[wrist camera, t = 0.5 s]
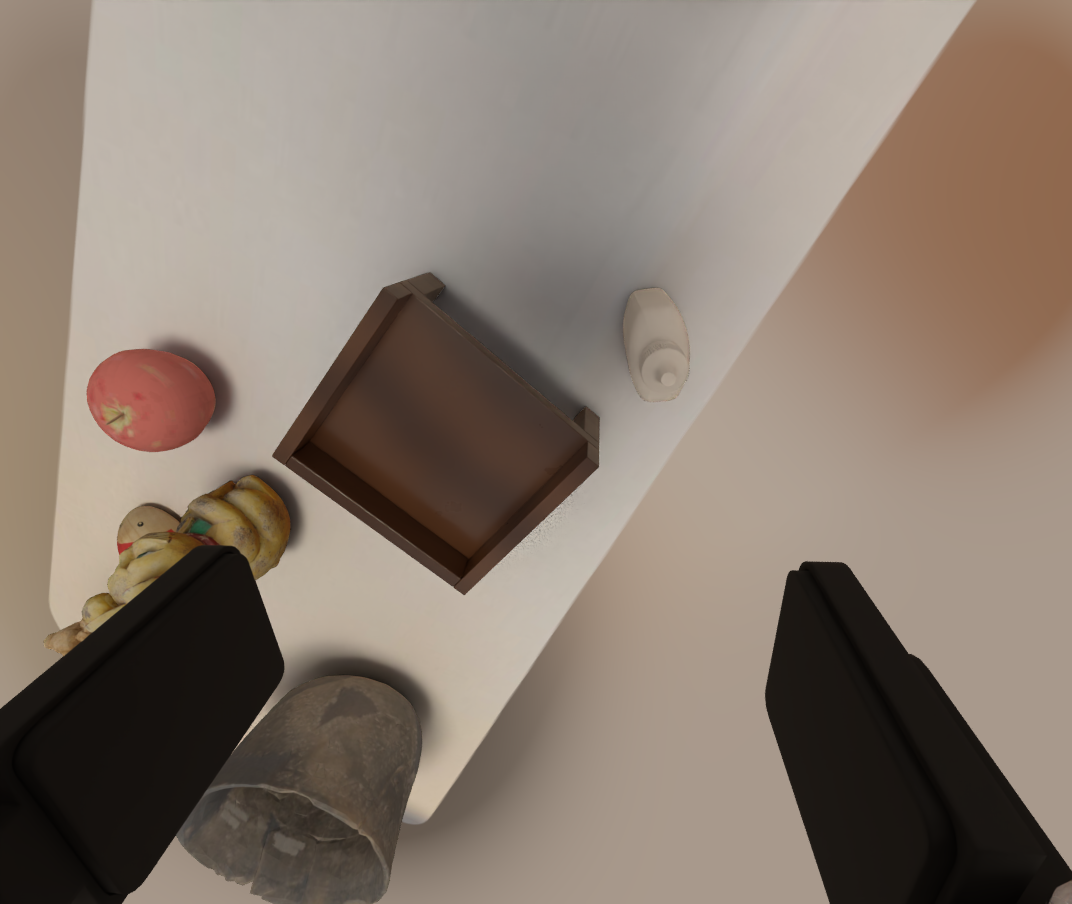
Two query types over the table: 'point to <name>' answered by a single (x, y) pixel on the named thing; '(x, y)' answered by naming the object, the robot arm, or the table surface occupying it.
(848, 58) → the table surface
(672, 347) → the eye dropper bottle
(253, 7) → the table surface
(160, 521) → the ladybug figurine
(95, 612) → the decorative figurine
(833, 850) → the robot arm
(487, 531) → the brown wooden tray stand
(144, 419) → the apple
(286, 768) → the bowl
